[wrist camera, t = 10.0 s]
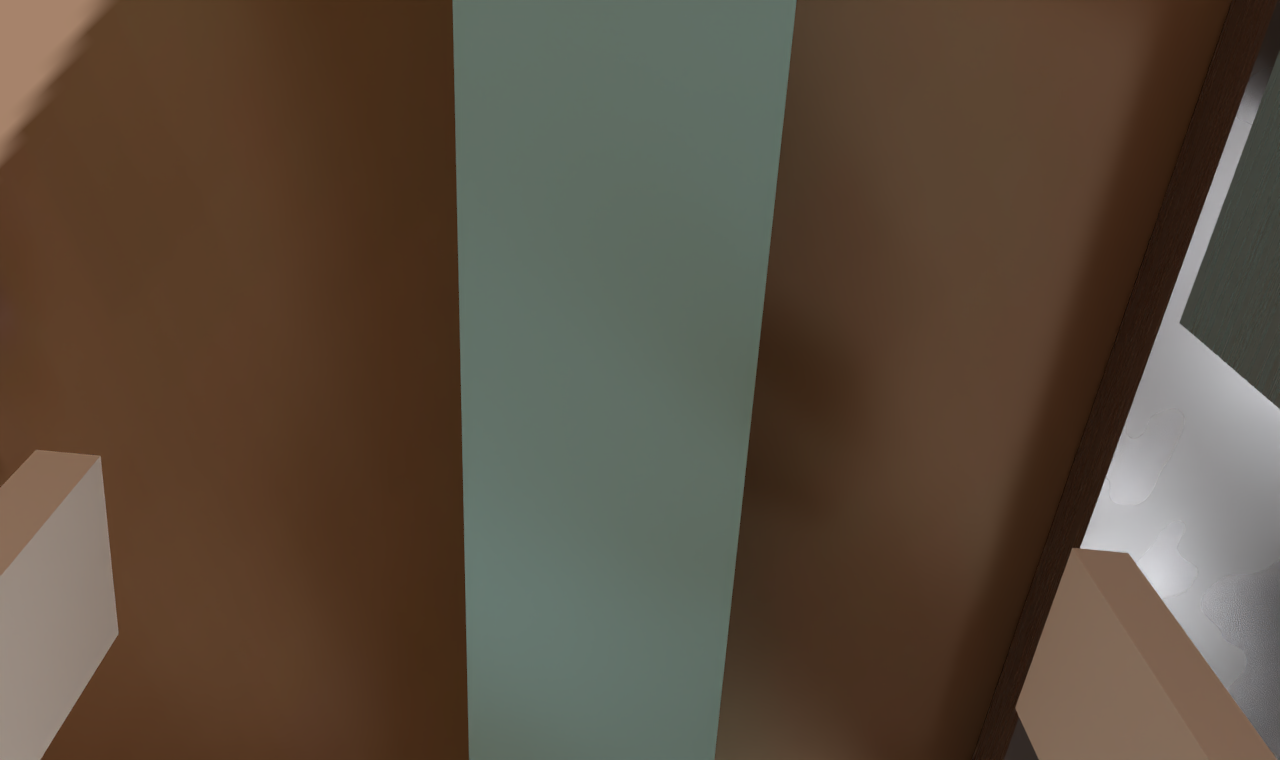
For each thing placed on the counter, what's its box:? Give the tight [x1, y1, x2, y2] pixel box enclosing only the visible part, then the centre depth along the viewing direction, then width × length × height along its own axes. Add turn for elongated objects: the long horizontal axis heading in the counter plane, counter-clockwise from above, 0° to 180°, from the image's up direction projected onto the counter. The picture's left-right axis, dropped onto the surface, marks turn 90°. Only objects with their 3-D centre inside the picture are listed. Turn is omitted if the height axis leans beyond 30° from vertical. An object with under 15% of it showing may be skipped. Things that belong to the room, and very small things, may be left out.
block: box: [453, 0, 797, 760], centre depth 16 cm, size 4×20×4 cm, turn 177°
